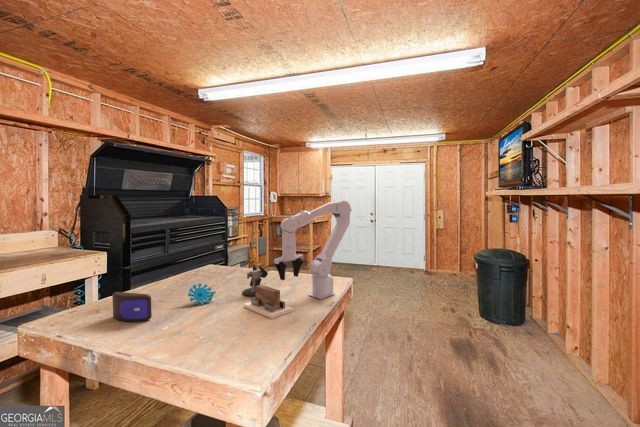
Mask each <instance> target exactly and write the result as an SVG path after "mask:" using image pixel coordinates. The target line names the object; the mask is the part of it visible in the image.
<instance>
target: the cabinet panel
mask: <svg viewBox="0 0 640 427" xmlns="http://www.w3.org/2000/svg"><path fill="white" fill-rule="evenodd" d="M243 307H244V308H246V309H248V310H250V311H253V312H255V313H258V314H260V315H262V316H265V317H266V318H268V319H275V318H277V317H281V316H284V315H286V314H288V313H291V312H293V310H294V309H293V307H291V306H288V305H286V304H285V308H284V309H282V308H280V309H278V310H275V312H270V311H268V310H265V309H264V306H261V305H260V306H259V307H258V306H255V305H253V304H251V301H250V302H245V303H243Z"/></svg>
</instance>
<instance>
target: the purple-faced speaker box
mask: <svg viewBox="0 0 640 427" xmlns="http://www.w3.org/2000/svg"><path fill="white" fill-rule="evenodd" d="M152 315H153V314H152V296H151V295H150V294H147V293H138V292H137V293H135V292H125V291H124V292H123V291H115V292H113V293H112V316H113V319H115V320H116V321H119V322H123V323H140V322H141V321H142V322H147V321H149V320H150V319H152V317H153V316H152Z"/></svg>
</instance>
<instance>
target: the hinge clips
mask: <svg viewBox="0 0 640 427" xmlns="http://www.w3.org/2000/svg"><path fill="white" fill-rule="evenodd" d="M250 302H251V304H253V305H255V306H258V307H259V306H260V300H259V299H256V297H250ZM285 305H286V301H284V300H281V299H280V308H282V309H284V308H285ZM264 309H265V310H268V311H270V312H275V305H272V304H270V303H267V302H266V303H264Z"/></svg>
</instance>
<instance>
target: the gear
mask: <svg viewBox="0 0 640 427" xmlns="http://www.w3.org/2000/svg"><path fill="white" fill-rule="evenodd" d="M197 286H198V288H197ZM193 289H194V290H193ZM188 291H189V292H188V295H187V296H188V297H189V301H190V302H193V301H194V300H195V301H194V302H193V303H194V305H198V303H199V302H200V303H199V305H200V306H204V305H205V304H209V303H210V301H211V300H213V298H214V295H216V293H217V291H216V290H213V291H212V287H210V286H209V287H208V284H207V283H205V284H204V285H203V284H202V283H201V282H199V283H198V284H193V285H192V287H190V288H189V289H188ZM204 301H205V304H204Z"/></svg>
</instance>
